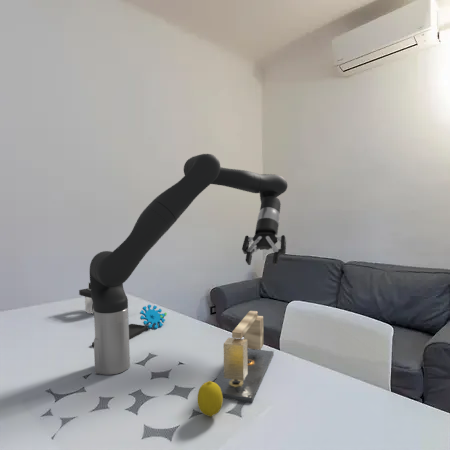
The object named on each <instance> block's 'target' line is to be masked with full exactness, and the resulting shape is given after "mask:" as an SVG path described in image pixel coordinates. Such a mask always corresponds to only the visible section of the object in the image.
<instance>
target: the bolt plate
mask: <svg viewBox="0 0 450 450" xmlns="http://www.w3.org/2000/svg"><path fill="white" fill-rule="evenodd" d="M273 357H274V351H273V350H265V349H261V350H258V349H255V350H253V349H250V348H247V340H245V339H244V338H241V339H239V338H232V337H227V339H226V340H225V341H224V342H223V369H222V370H221V372H220V373H219V374H218V376H217V377H216V379H215V380H214V381H213V382H214V383H216V384H218V386H219V387H220V389H221V392H222V396H223V399H227V400H232V401H238V402H244V403H251V404H253V403H254V399H255V397H256V395H257V393H258V390H259V388H260V386H261V384H262V382H263V380H264V378H265V376H266V373H267V371H268V368H269V366H270V364H271V363H272V359H273Z"/></svg>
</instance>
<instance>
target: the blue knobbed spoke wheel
mask: <svg viewBox="0 0 450 450" xmlns="http://www.w3.org/2000/svg"><path fill="white" fill-rule="evenodd" d="M157 308H158V306H157V305H155V304H154V305H151V304H148V305H147V306H146V305H145V306H143V307H142V309H141V311H140V312H139V314H140V318H139V319H140V320H143V322H142V324H143V326H147V325H148V329H152V328H153V329H155V330H157V329H158V328H159V327H160V328H162V327H163V326H164V324H163V323H165V321H166V319H165V318H164V317H166V316H167V314H168V313H167V312H163V311H162V309H161V308H159V309H157ZM162 312H163V313H162ZM153 325H154V326H153Z"/></svg>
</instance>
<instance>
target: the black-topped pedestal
mask: <svg viewBox="0 0 450 450" xmlns="http://www.w3.org/2000/svg"><path fill="white" fill-rule="evenodd" d="M87 286H88V287H87V288H82V289H79V290H78V291H79V292H78V295H79V296H82V297H84V305H85V307H84V308H85V309H84V310H85V313H86V312H87V313H86V314H91V313H92V315H94V305H93V301H92V297H91V287H90V281H88V283H87Z"/></svg>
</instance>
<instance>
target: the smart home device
mask: <svg viewBox="0 0 450 450" xmlns="http://www.w3.org/2000/svg"><path fill="white" fill-rule="evenodd" d="M148 326H149V325H148ZM148 326H147V325H144V324H143V325H142V324H137V323H129V341H130V340H131V339H134V338H135V337H138V336H139V335H141V334H143V333H146V331H148V329H149V327H148ZM91 344H92V345H91V346H92V347H93V348H94V341H92V342H91Z"/></svg>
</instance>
